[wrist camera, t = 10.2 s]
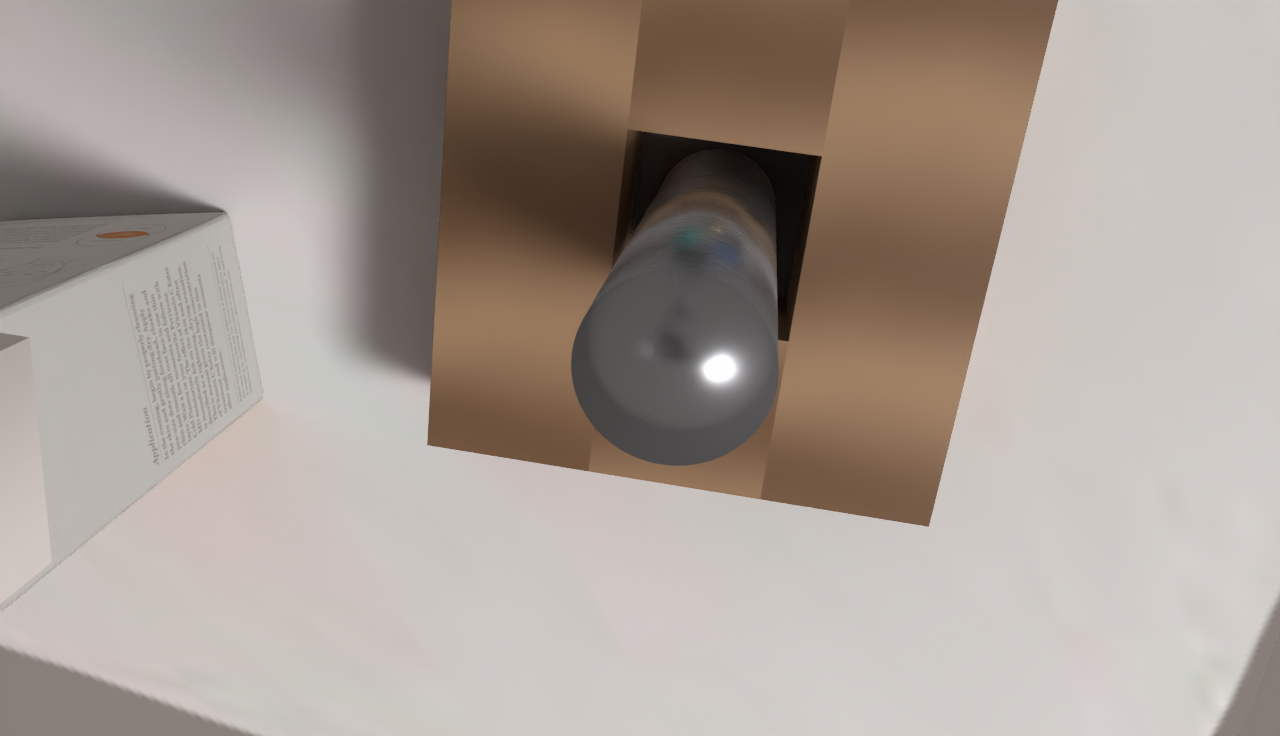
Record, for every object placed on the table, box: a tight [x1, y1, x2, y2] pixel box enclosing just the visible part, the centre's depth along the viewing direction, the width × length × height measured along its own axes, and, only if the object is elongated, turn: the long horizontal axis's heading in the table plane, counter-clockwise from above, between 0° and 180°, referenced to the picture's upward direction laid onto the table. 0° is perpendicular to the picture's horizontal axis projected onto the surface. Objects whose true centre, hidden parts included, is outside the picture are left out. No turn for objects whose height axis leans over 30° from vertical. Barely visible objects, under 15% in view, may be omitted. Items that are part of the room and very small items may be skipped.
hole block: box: [427, 0, 1058, 526], centre depth 28 cm, size 14×14×4 cm
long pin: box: [571, 149, 779, 466], centre depth 24 cm, size 3×3×14 cm
